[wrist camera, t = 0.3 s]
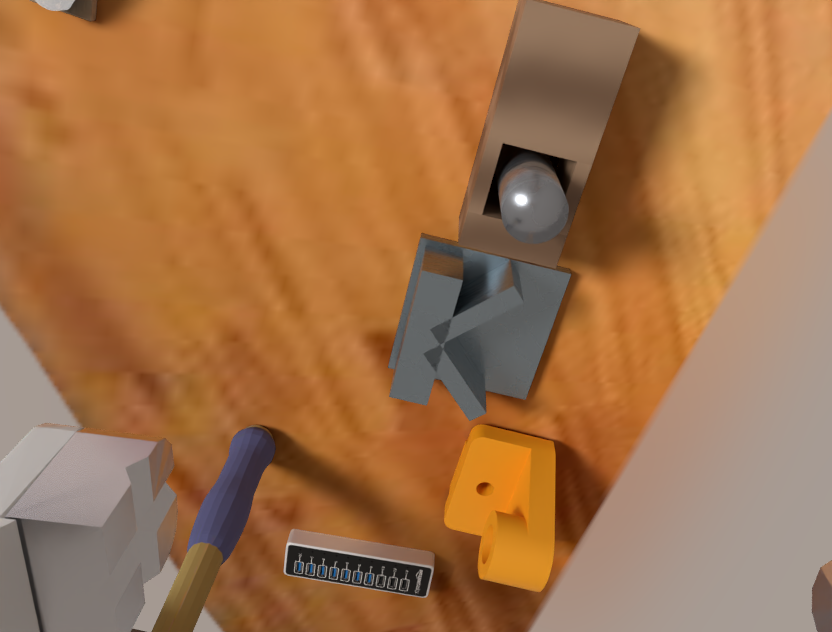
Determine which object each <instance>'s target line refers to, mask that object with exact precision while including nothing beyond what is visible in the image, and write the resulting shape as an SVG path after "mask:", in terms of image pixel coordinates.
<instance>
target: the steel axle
mask: <svg viewBox="0 0 832 632" xmlns="http://www.w3.org/2000/svg"><path fill="white" fill-rule="evenodd" d="M495 171H496V179H497V186H498V194H499V201H500V209H501V216H502V222H503V225H504V227H505V229H506V230H507V232H508V233H509V234H510V235H511V236H512V237H513V238H515V239H516V240H518V241H521V242H524V243H528V244H539V243H543V242H546V241H549V240H551V239H552V238H554V237H555V236H556V235H558V234H559V233H560V232H561V230H562V229H563V228H564V226H565V224H566V222H567V219H568V213H569V207H568V202H567V199H566V197H565V194H564V192H563V189H562V187H561V185H560V182H559V180H558V177H557V175H556V173H555V170H554V168H553V165H552V163H551V160H550V158H549V156H548V154H544V153H540V152H536V151H532V150H528V149H524V148H520V147H517V146H513V145H509V144H506V145H505V146H504V147H503V148H502V149H501V151H500V154H499V158H498V161H497V165H496V168H495Z"/></svg>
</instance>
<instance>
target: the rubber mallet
mask: <svg viewBox="0 0 832 632" xmlns="http://www.w3.org/2000/svg"><path fill="white" fill-rule="evenodd" d="M275 450H276V447H275V442H274V440H273V437H272V434H271V433H270V432H269V430H268V429H266V428H264V427H262V426H259V425H252V426H249V427H246V429H243V430H241V431H239V432H238V433H237V434H236V435H235V436H234V437H233V439H232V442H231V446H230V450H229V457H228V459H227V461H226V463H225V465H224V468H223V470H222V472H221V474H220V476H219V478H218V480H217V482H216V483H215V485H214V486H213V487H212V489H211V490H210V492H209V493H208V494H207V496H206V498H205V499H204V501H203V503H202V506H201V508H200V510H199V513H198V515H197V518H196V520H195V523H194V526H193V529H192V532H191V535H190V539H189V543H188V549H187V555H186V557H185V559H184V562H183V564H182V566H181V568H180V570H179V573H178V575H177V577H176V580H175V581H174V584H173V586H172V588H171V590H170V592H169V595H168V597H167V599H166V601H165V603H164V606H163V608H162V610H161V612H160V615H159V617H158V619H157V621H156V623H155V625H154V628H153V630H152V632H193V630H194V627H195V625H196V623H197V620H198V618H199V616H200V613H201V611H202V608H203V606H204V604H205V601H206V599H207V597H208V594H209V592H210V590H211V587H212V585H213V582H214V580H215V578H216V575H217V573H218V571H219V568H220V566H221V565H222V564H223V563H224V562H225V561H226V560H227V559H228V557H229V556H230V554H231V553H232V551H233V549H234V547H235V546H236V544H237V542H238V540H239V538H240V536H241V534H242V532H243V530H244V527H245V525H246V523H247V520H248V516H249V513H250V510H251V506H252V501H253V496H254V493H255V491H256V488H257V486H258V483H259V481H260V479H261V476H262V474H263V472H264V470H265V468H266V467H267V466H268V465H269V464H270V463H271V461H272V459H273V457H274V453H275ZM131 632H145V631H140V630H136V629H132V630H131Z"/></svg>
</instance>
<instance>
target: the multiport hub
mask: <svg viewBox="0 0 832 632" xmlns="http://www.w3.org/2000/svg"><path fill="white" fill-rule="evenodd" d="M434 558H435V554H434V553H433V552H430V551H424V550H418V549H412V548H406V547H400V546H394V545H388V544H382V543H376V542H370V541H364V540H358V539H352V538H346V537H340V536H334V535H328V534H322V533H316V532H310V531H304V530H298V529H293V530H291V532H290V535H289V538H288V541H287V545H286V553H285V563H284V573H285V574H286V575H289V576H295V577H301V578H307V579H313V580H319V581H325V582H331V583H337V584H343V585H349V586H355V587H361V588H367V589H373V590H380V591H386V592H392V593H398V594H404V595H410V596H416V597H422V598H425V597H427V596H428V593H429V589H430V584H431V580H432V576H433V571H434Z"/></svg>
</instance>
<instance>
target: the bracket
mask: <svg viewBox="0 0 832 632" xmlns="http://www.w3.org/2000/svg"><path fill="white" fill-rule="evenodd" d="M555 472H556V453H555V448H554V442H553V441H550V440H545V439H541V438H537V437H533V436H529V435H525V434H521V433H517V432H513V431H509V430H504V429H500V428H496V427H492V426H488V425H483V424H481V425H477V426H475V427H473V428H472V430H471V432H470V435H469V438H468V440H466V441H465V444H464V447H463V450H462V453H461V456H460V459H459V461H458V464H457V467H456V470H455V473H454V476H453V479H452V482H451V484H450V492H449V495H448V498H447V501H446V504H445V516H444V522H445V525H446V526H447V527H448V528H450V529H453V530H458V531H462V532H466V533H470V534H475V535H479V536H482V538H481V543H480V549H479V557H478V573H479V577H480V579H484V580H488V581H492V582H496V583H501V584H505V585H509V586H514V587H518V588H522V589H527V590H531V591H535V592H540V591H542V590H543V588H544V587H545V585H546V583H547V580H548V578H549V575H550V571H551V567H552V563H553V556H554V543H555Z"/></svg>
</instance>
